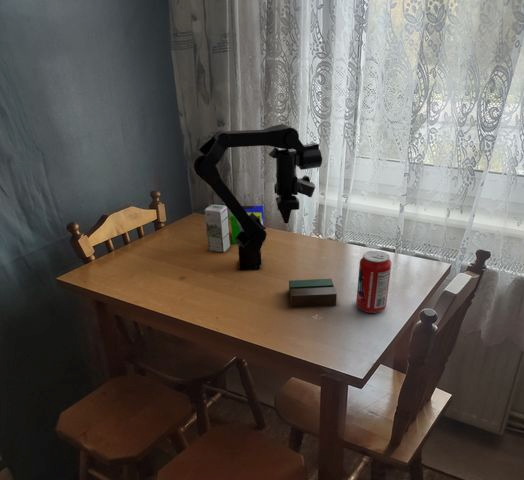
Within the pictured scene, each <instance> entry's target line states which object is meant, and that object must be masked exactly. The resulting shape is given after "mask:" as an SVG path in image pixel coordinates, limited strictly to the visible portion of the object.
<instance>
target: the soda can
mask: <svg viewBox="0 0 524 480" xmlns="http://www.w3.org/2000/svg"><path fill="white" fill-rule="evenodd" d="M391 270H392V261H391V259H390V255H389V254H388V253H386V252H384V251H381V250H369V251H366V252H364V253H363V255H362V257H361V258H360V259H359V267H358V278H357V291H356V299H355V300H356V302H355V305H356V307H357V308H358V309H359V310H361V311H363V312H365V313H368V314H375V313H380V312H382V311H384V310H385V309H386V308H387V304H388V295H389V287H390V281H391V280H390V279H391Z"/></svg>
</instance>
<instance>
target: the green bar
mask: <svg viewBox="0 0 524 480" xmlns="http://www.w3.org/2000/svg"><path fill="white" fill-rule="evenodd" d="M324 287H334V288H335V285H334V281H333V279H332V278H315V279H314V278H313V279H295V280H293V279H290V280H288V293H289V295H290V289H302V288H324Z"/></svg>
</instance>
